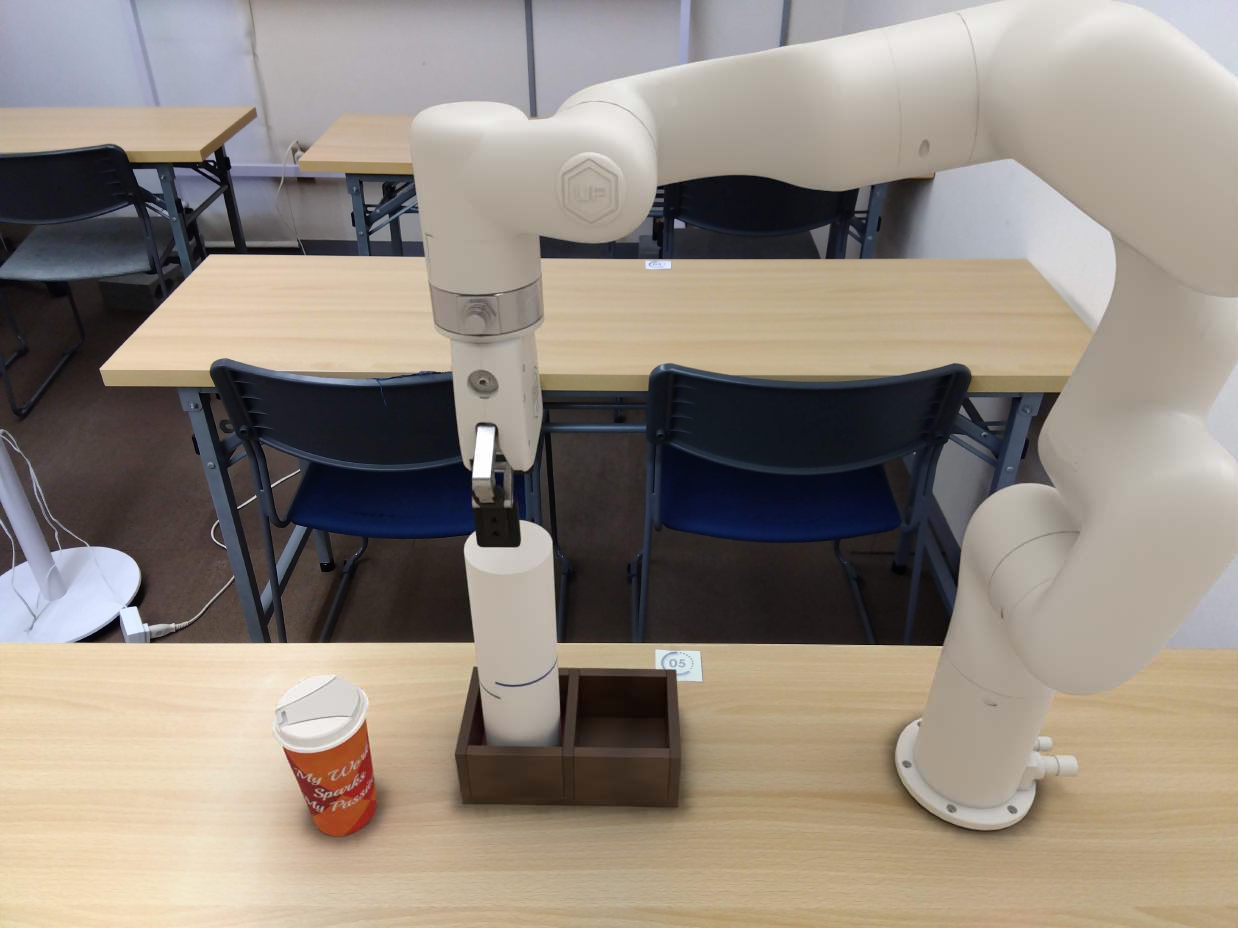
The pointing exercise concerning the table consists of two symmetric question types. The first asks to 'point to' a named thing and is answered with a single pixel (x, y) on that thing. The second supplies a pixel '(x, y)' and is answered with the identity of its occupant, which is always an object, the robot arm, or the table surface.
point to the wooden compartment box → (583, 745)
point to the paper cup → (329, 751)
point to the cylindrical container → (516, 638)
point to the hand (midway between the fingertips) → (507, 506)
